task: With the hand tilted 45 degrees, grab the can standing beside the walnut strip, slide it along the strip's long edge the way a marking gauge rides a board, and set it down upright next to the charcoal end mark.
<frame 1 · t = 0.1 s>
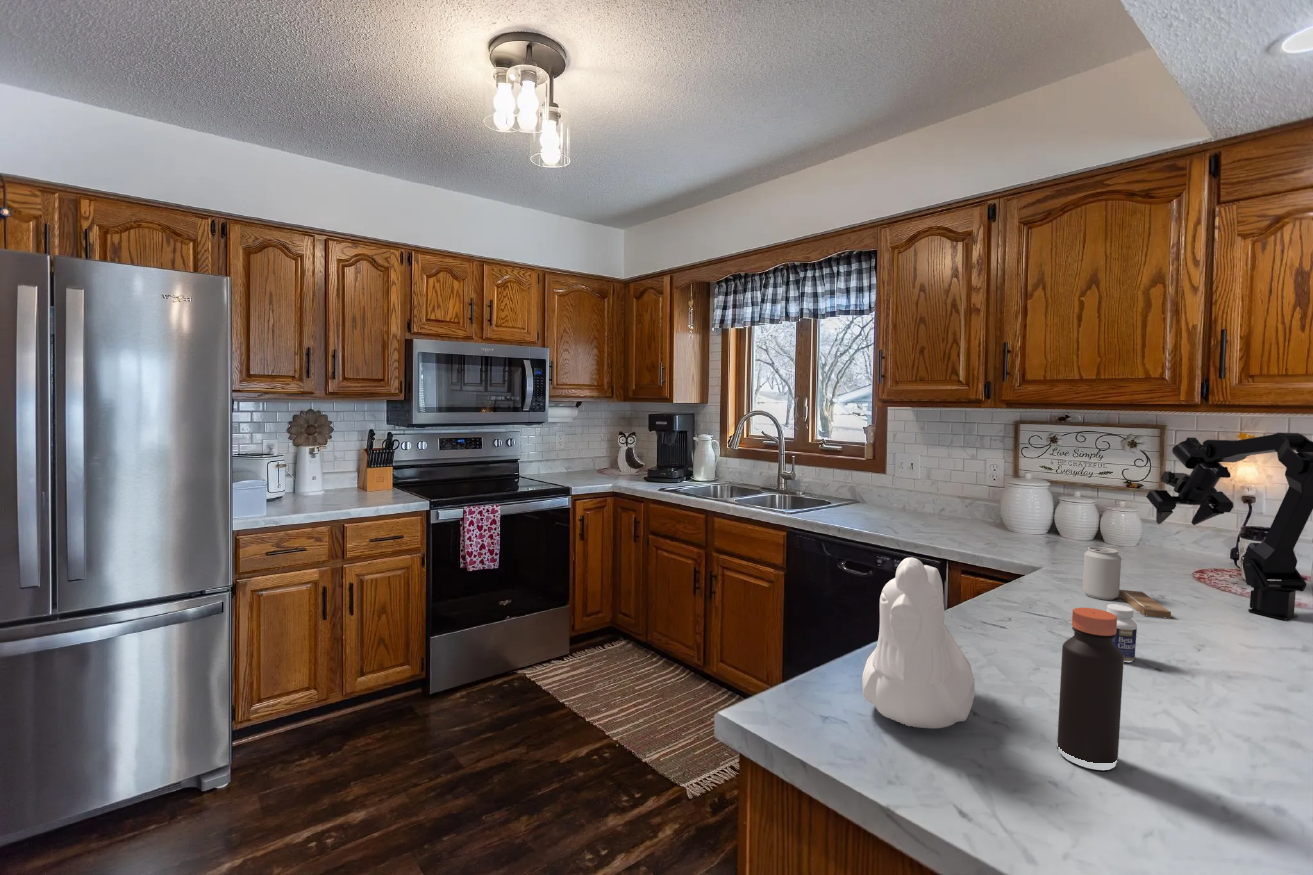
hand: (1175, 523, 175), 15 cm above the countertop, tool tilted 35°, fingers open, 9 cm apart
plank: (1142, 606, 150), on the countertop
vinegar: (1086, 759, 86), on the countertop
decorative rooster: (924, 709, 99), on the countertop
pill bottle: (1116, 659, 120), on the countertop
can: (1100, 597, 158), on the countertop
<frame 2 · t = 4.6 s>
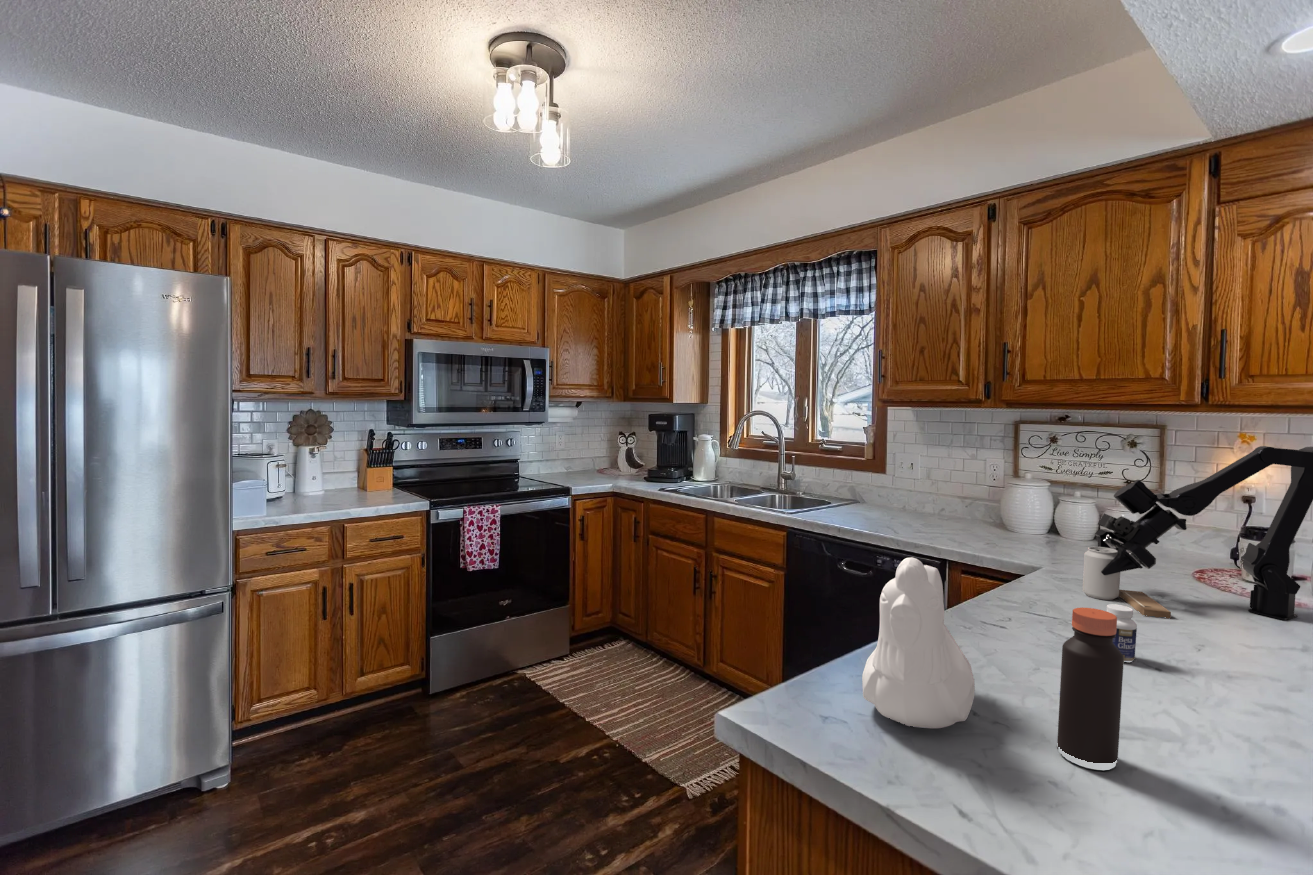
hand: (1095, 569, 157), 7 cm above the countertop, tool tilted 45°, fingers closed on can, 7 cm apart
can: (1100, 597, 158), on the countertop, touching gripper
everything else where it was.
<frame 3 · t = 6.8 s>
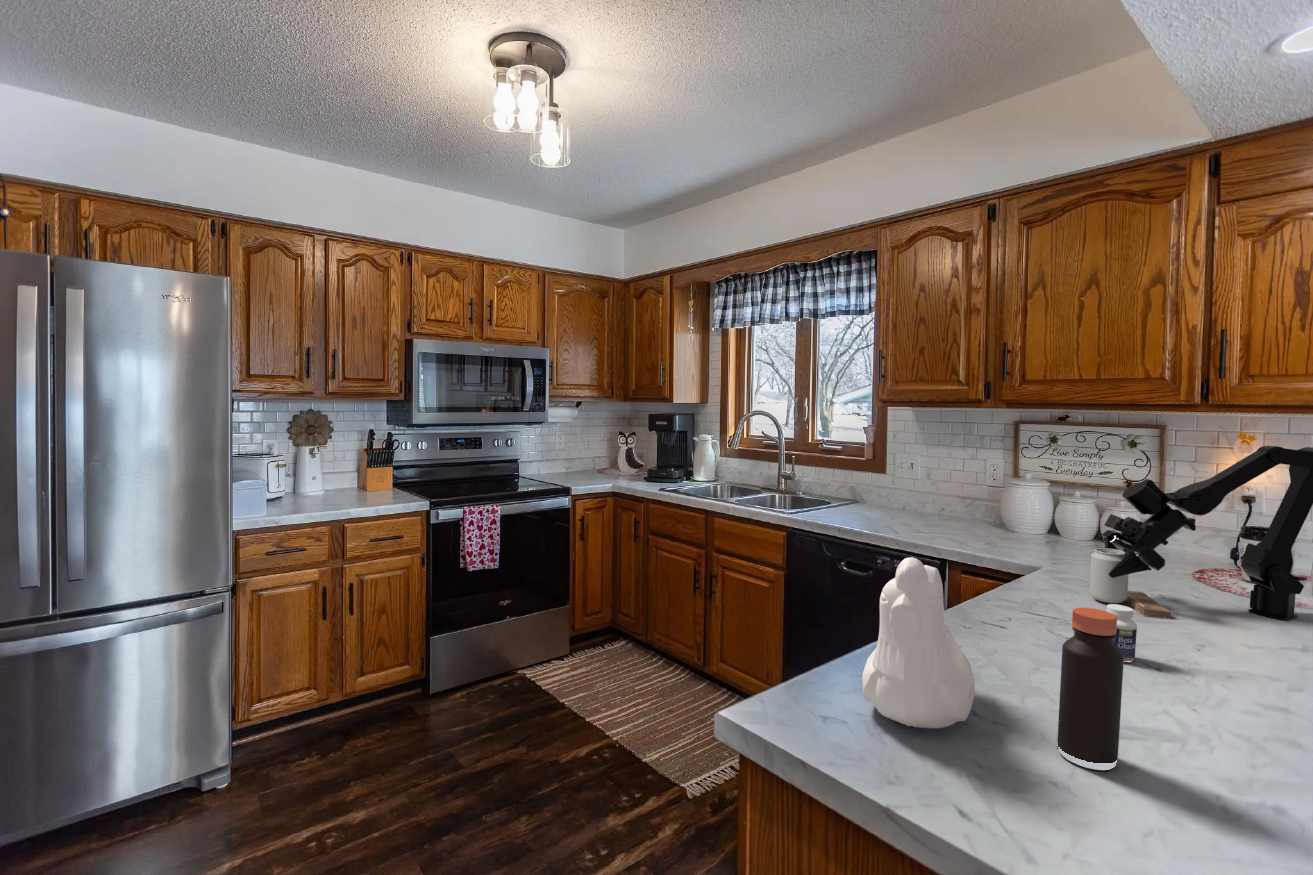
hand: (1102, 571, 153), 7 cm above the countertop, tool tilted 45°, fingers closed on can, 7 cm apart
can: (1107, 600, 153), on the countertop, touching gripper
everything else where it was.
when the fingers open (7 cm above the countertop, at t = 9.2 s): can stays where it is, on the countertop.
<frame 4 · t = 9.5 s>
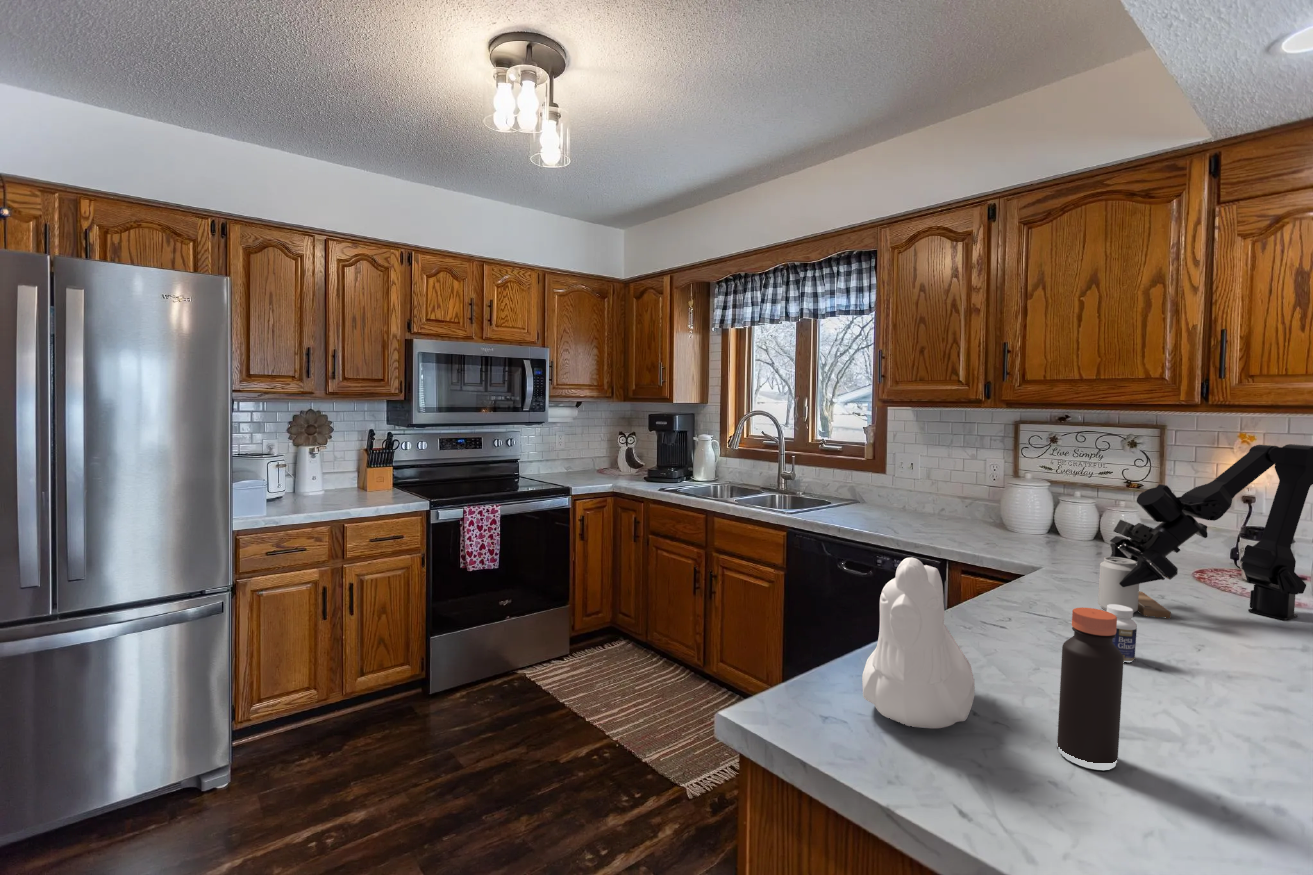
hand: (1111, 579, 147), 7 cm above the countertop, tool tilted 45°, fingers open, 9 cm apart
can: (1117, 611, 147), on the countertop
everything else where it was.
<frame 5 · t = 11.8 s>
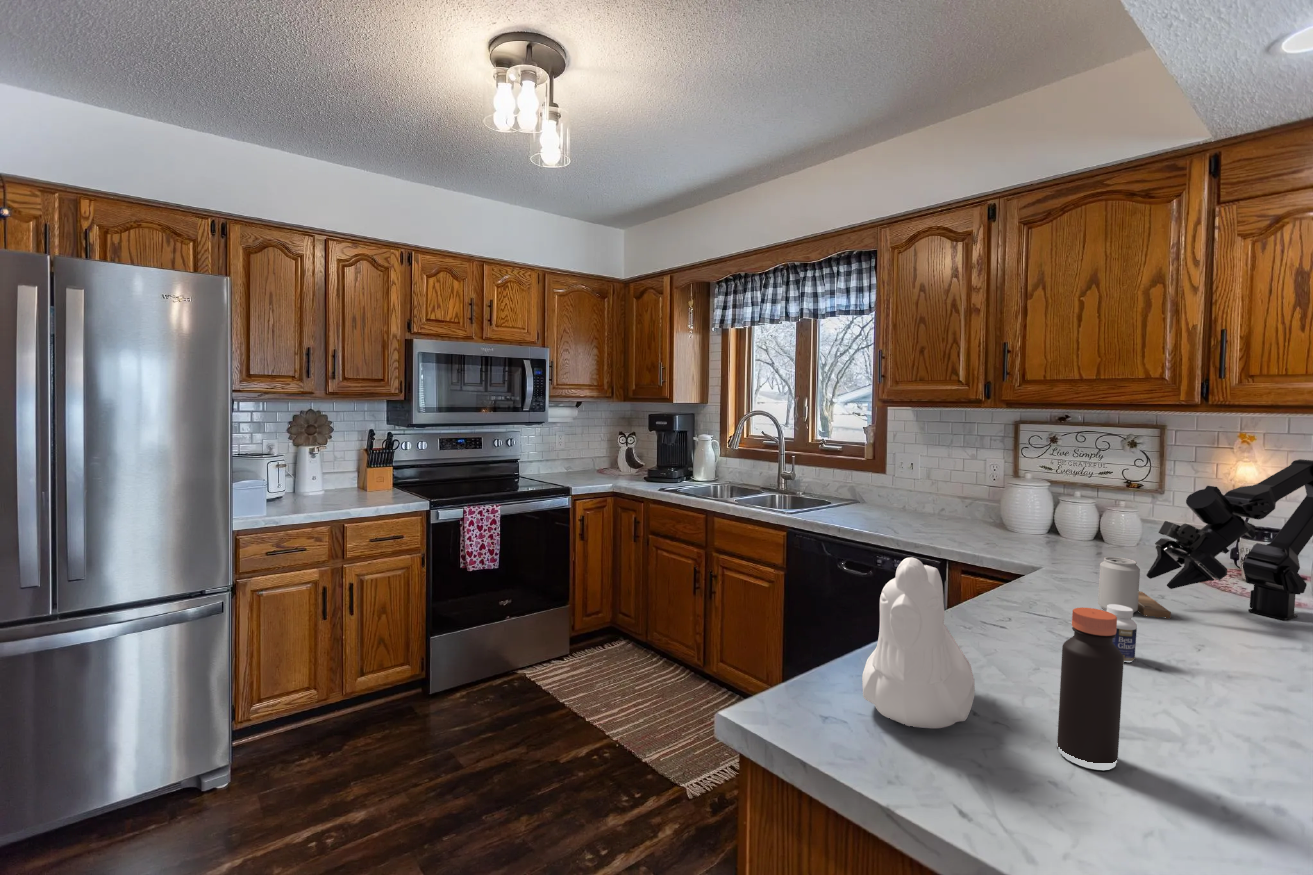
hand: (1157, 582, 145), 7 cm above the countertop, tool tilted 45°, fingers open, 9 cm apart
nothing on the countertop moved.
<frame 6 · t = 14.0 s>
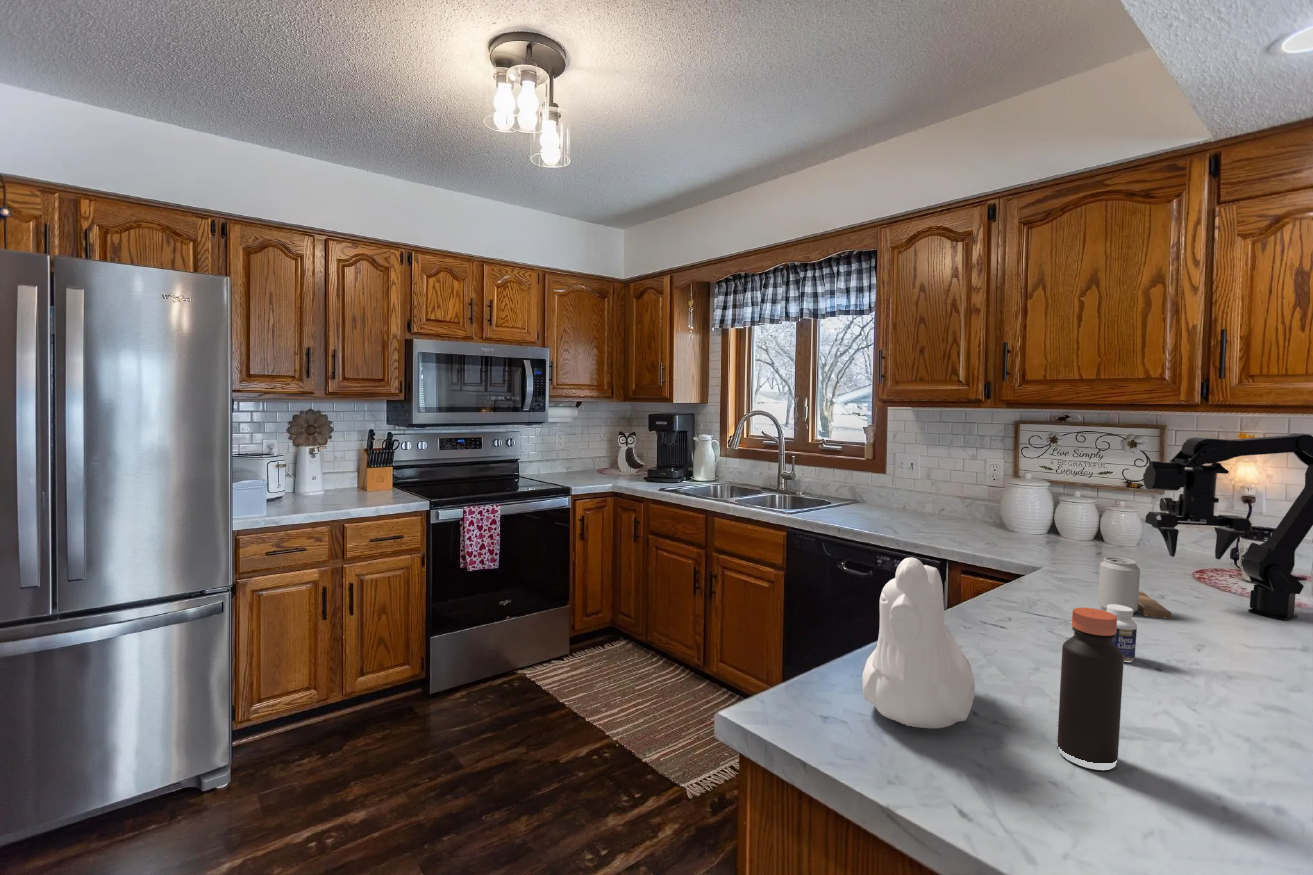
hand: (1194, 557, 149), 12 cm above the countertop, tool pointing down, fingers open, 9 cm apart
nothing on the countertop moved.
at the end: can 0.2 cm from the target spot, on the countertop; can tilted 0°; the gripper is holding nothing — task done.
